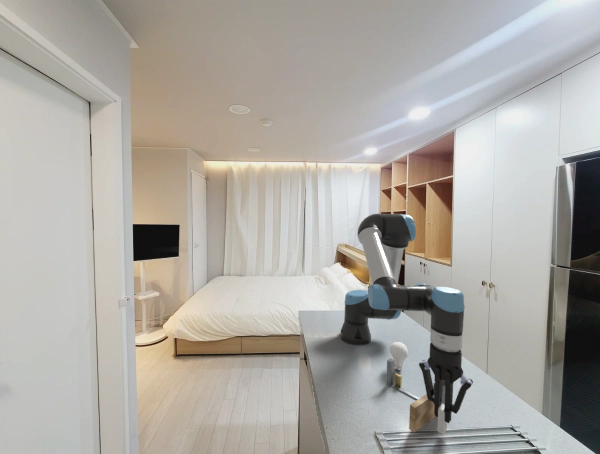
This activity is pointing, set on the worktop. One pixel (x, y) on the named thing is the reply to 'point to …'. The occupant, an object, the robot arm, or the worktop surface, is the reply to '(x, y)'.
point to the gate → (421, 412)
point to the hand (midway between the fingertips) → (442, 430)
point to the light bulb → (398, 354)
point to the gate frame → (399, 379)
